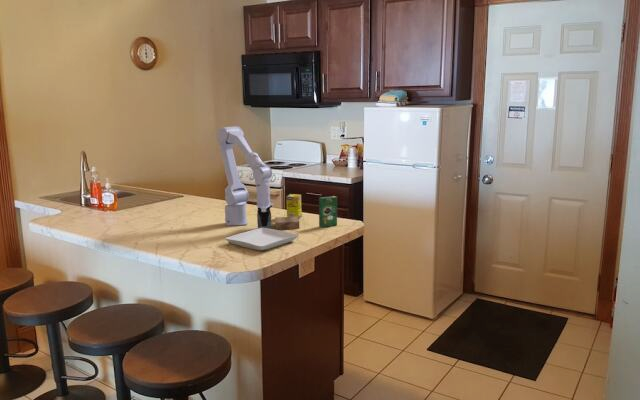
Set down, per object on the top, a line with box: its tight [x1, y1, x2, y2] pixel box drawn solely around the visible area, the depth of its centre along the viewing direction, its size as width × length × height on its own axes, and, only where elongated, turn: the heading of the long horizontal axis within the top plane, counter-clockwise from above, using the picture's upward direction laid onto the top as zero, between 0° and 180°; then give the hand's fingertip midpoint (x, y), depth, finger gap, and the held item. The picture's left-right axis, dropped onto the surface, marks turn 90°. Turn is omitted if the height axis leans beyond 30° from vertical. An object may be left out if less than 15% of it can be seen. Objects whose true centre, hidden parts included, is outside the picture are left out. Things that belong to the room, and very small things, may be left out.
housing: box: [256, 211, 273, 229], centre depth 223 cm, size 6×4×8 cm, turn 96°
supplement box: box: [285, 193, 303, 220], centre depth 241 cm, size 6×6×11 cm
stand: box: [275, 216, 300, 230], centre depth 227 cm, size 10×10×3 cm
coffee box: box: [318, 195, 338, 228], centre depth 225 cm, size 8×3×13 cm, turn 119°
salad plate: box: [225, 228, 299, 251], centre depth 202 cm, size 21×21×3 cm
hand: (264, 224), depth 223 cm, fingers closed on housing, 4 cm apart
